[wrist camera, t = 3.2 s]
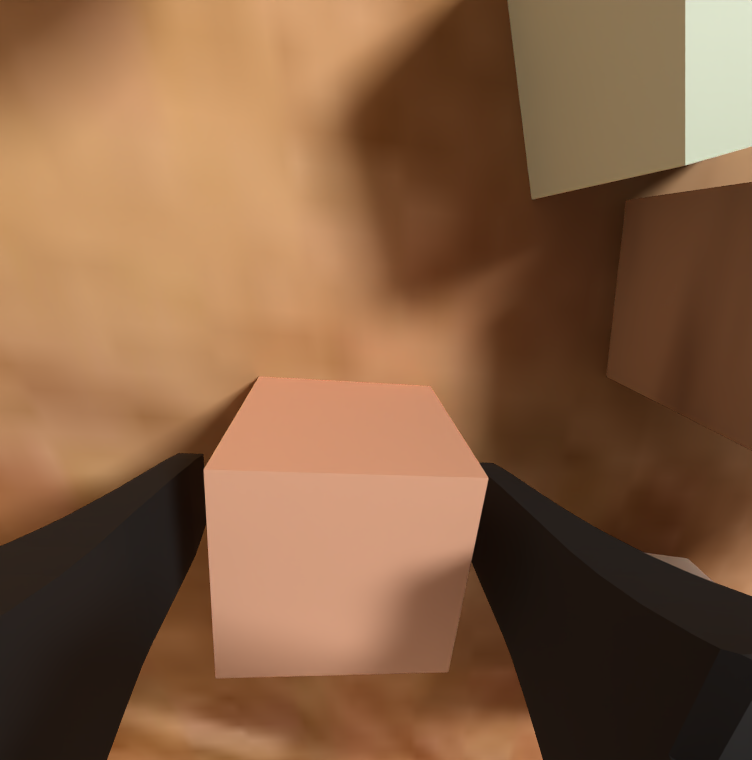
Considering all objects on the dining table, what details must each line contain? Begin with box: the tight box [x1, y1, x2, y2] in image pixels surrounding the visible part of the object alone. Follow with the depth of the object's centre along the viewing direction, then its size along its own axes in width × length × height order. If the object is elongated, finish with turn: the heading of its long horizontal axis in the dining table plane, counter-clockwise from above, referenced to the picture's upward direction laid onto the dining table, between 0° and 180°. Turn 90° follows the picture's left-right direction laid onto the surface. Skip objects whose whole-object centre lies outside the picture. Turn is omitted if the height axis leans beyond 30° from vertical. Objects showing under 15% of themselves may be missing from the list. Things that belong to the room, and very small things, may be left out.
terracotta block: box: [204, 376, 488, 678], centre depth 10 cm, size 5×5×5 cm
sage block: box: [507, 0, 752, 200], centre depth 7 cm, size 5×5×5 cm
